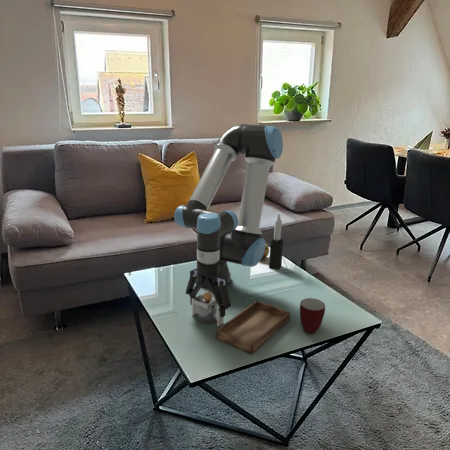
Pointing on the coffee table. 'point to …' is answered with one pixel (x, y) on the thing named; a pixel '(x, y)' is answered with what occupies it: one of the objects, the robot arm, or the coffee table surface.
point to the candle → (276, 246)
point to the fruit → (265, 251)
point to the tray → (253, 326)
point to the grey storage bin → (206, 309)
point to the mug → (311, 314)
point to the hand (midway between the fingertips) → (207, 318)
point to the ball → (207, 296)
